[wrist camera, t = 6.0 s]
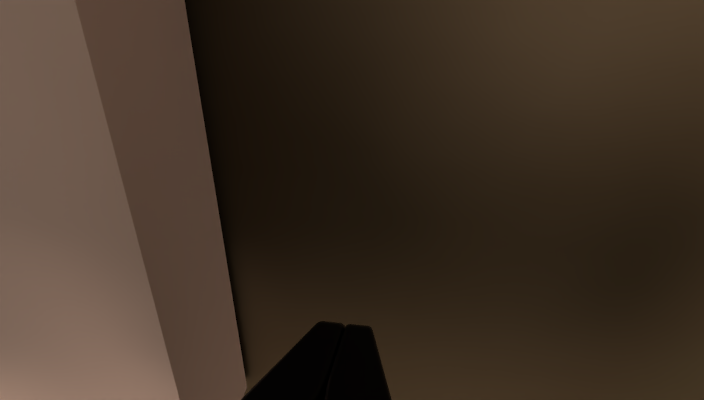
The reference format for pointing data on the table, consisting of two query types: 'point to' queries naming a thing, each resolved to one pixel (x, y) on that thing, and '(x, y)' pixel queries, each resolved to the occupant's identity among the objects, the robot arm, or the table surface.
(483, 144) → the table surface
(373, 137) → the table surface
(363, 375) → the robot arm
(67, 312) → the beige rectangular block
